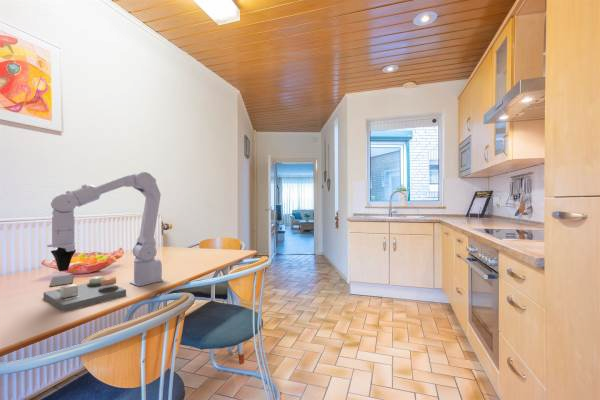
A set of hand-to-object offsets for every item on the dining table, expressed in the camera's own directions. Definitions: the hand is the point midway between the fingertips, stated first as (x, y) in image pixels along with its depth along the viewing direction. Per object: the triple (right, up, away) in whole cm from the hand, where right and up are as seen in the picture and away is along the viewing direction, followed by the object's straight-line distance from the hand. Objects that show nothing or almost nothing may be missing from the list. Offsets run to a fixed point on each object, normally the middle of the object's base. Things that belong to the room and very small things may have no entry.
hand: (63, 270), depth 91 cm
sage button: (+5, -7, +9) cm, 12 cm away
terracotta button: (+13, -5, +3) cm, 14 cm away
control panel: (+6, -9, +2) cm, 11 cm away
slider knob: (+5, -7, -4) cm, 9 cm away
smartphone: (-18, -10, +20) cm, 28 cm away
